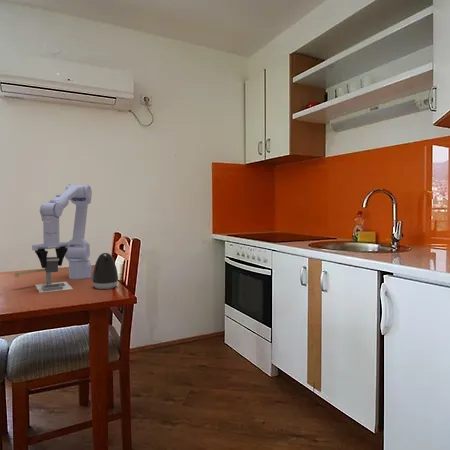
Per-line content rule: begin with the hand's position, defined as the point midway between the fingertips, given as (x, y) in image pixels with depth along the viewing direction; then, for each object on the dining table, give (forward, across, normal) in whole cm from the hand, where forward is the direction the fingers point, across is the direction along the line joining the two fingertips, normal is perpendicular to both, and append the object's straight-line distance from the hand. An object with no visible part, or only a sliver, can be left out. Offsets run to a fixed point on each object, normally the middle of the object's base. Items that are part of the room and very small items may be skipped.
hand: (51, 266), depth 140 cm
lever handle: (+4, +2, -9) cm, 10 cm away
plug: (+2, 0, 0) cm, 2 cm away
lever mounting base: (+10, -2, -2) cm, 10 cm away
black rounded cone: (+10, -14, +14) cm, 23 cm away
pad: (+9, -5, -3) cm, 11 cm away
